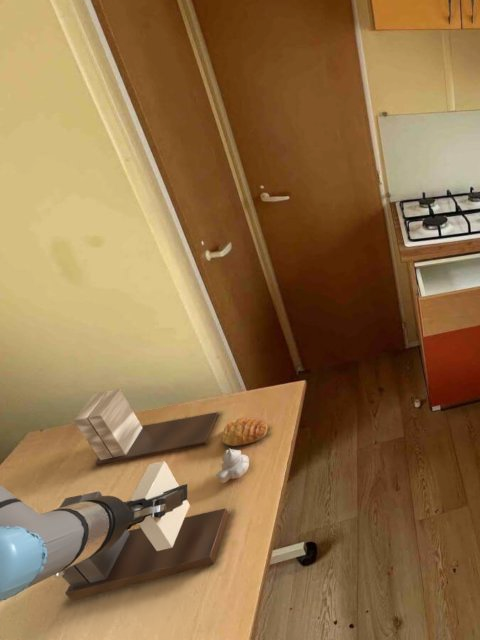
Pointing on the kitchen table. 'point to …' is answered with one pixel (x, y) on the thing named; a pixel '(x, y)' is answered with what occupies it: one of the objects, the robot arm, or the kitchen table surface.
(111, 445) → the wooden bookend
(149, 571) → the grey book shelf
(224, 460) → the white garlic bulb
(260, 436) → the pastry
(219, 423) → the kitchen table surface
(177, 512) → the white book
